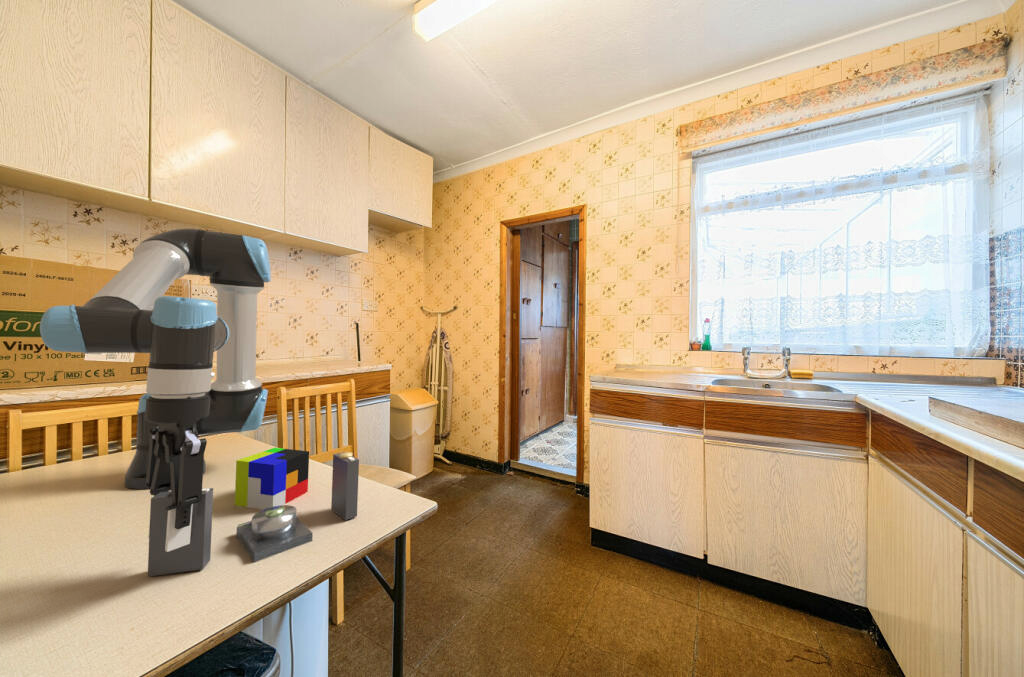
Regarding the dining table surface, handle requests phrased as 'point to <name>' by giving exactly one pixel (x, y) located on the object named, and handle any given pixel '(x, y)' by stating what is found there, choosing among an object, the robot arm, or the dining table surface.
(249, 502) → the puzzle toy
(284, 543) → the levelling plate
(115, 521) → the dining table surface
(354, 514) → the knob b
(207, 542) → the dark grey flat block
